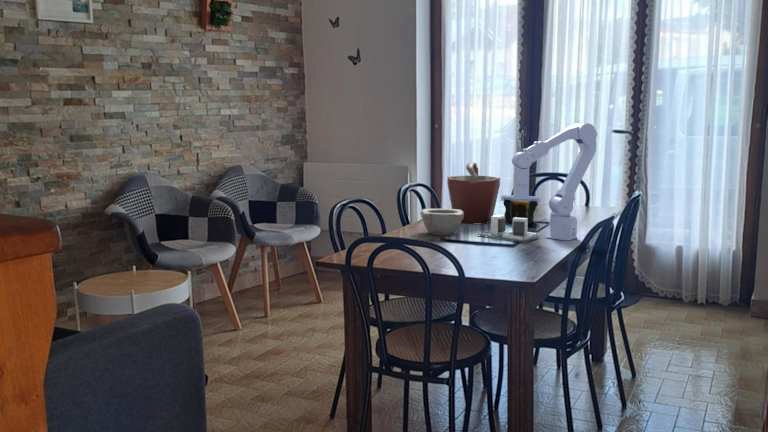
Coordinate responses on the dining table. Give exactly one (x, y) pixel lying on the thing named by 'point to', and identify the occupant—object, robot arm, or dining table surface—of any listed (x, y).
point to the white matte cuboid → (519, 226)
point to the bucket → (474, 195)
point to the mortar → (442, 220)
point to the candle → (519, 211)
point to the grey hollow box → (500, 226)
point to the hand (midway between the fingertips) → (520, 220)
